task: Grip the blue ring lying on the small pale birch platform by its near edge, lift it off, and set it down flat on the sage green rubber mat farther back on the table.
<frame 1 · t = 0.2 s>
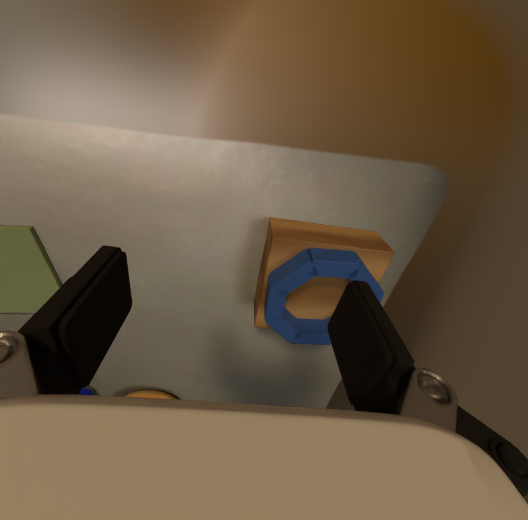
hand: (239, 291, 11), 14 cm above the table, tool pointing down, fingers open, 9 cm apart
mat: (1, 272, 27), on the table
ring: (318, 293, 25), point 4 cm above the table, touching platform
platform: (310, 269, 28), on the table
doughnut: (153, 401, 42), on the table
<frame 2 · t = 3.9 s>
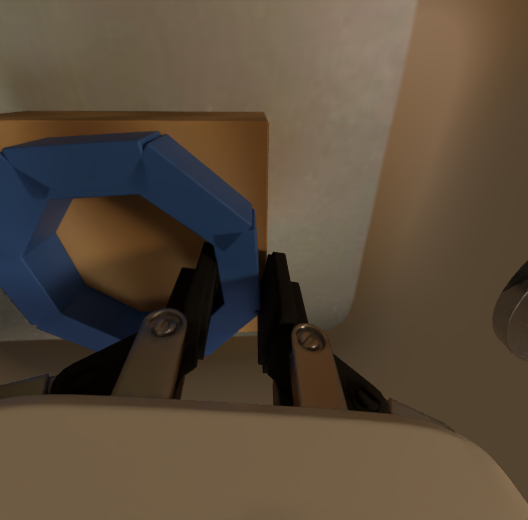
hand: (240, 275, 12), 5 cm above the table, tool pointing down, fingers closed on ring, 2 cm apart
ring: (148, 255, 12), point 4 cm above the table, touching gripper, platform
platform: (171, 218, 15), on the table
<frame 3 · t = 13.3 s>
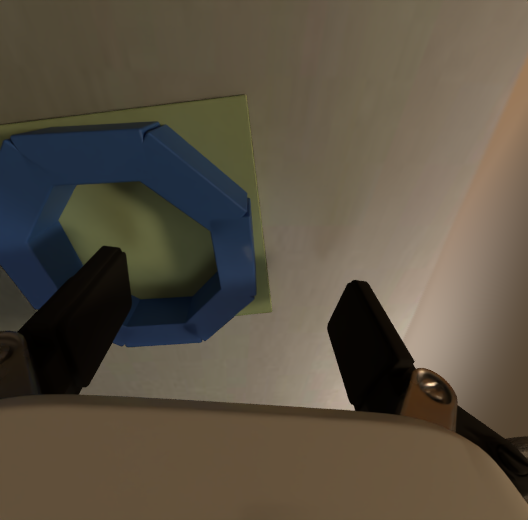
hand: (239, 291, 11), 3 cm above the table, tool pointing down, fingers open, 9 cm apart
mat: (152, 239, 13), on the table
ring: (147, 243, 12), resting on mat
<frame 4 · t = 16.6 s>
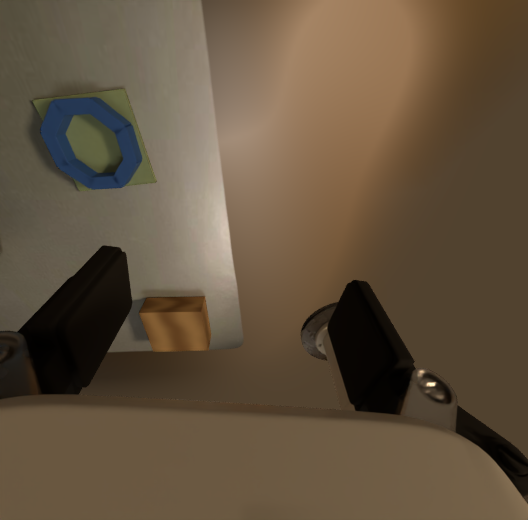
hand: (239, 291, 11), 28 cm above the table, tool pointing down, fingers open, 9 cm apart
mat: (101, 144, 33), on the table
ring: (98, 144, 33), resting on mat
platform: (180, 317, 51), on the table
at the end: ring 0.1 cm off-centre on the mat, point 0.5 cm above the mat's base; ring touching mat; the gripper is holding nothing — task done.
